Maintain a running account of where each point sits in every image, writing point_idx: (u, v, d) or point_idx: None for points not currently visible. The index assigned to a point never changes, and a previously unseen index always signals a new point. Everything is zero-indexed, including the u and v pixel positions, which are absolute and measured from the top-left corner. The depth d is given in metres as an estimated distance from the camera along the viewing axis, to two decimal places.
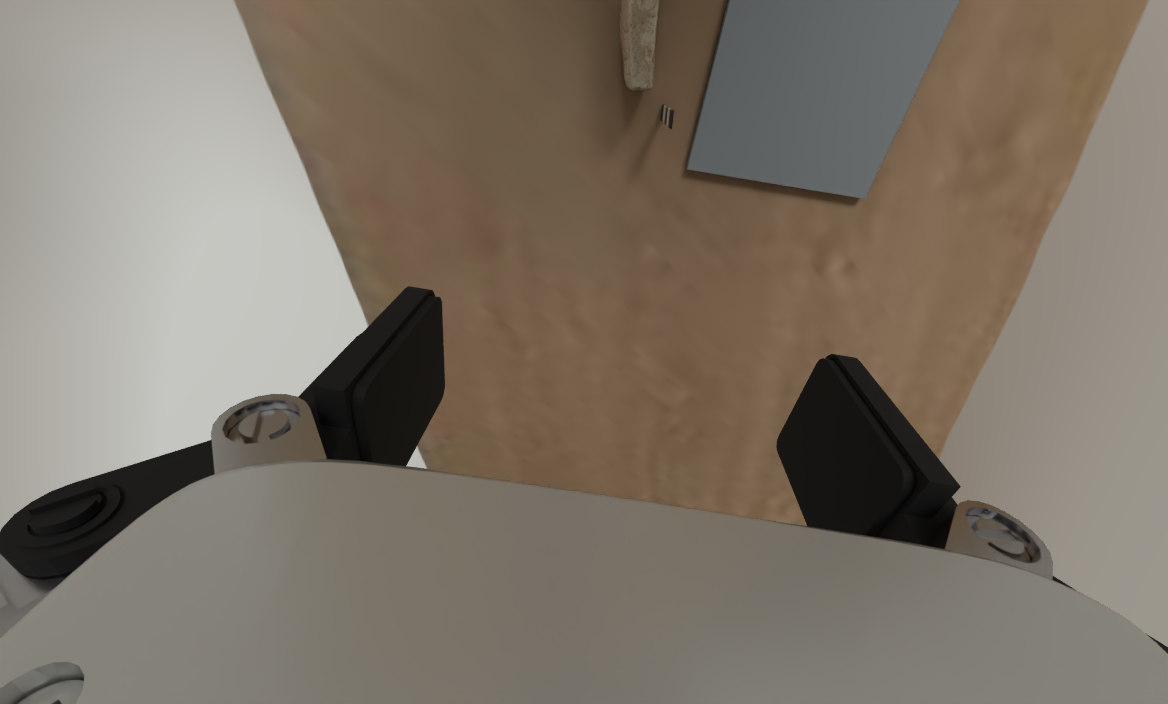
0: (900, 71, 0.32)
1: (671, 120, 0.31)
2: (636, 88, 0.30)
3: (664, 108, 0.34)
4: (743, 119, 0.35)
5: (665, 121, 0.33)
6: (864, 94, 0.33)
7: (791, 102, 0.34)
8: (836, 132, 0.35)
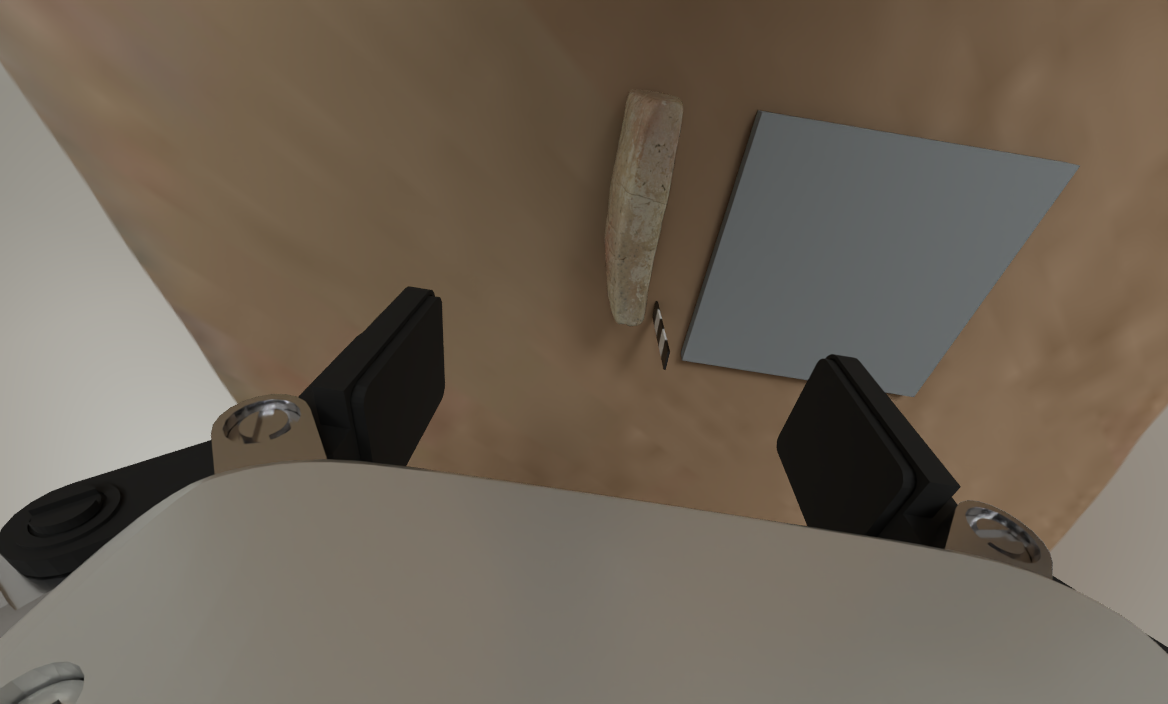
0: (974, 264, 0.24)
1: (665, 360, 0.23)
2: (621, 323, 0.22)
3: (658, 315, 0.26)
4: (757, 310, 0.26)
5: (658, 337, 0.25)
6: (921, 288, 0.24)
7: (822, 294, 0.25)
8: (881, 327, 0.26)
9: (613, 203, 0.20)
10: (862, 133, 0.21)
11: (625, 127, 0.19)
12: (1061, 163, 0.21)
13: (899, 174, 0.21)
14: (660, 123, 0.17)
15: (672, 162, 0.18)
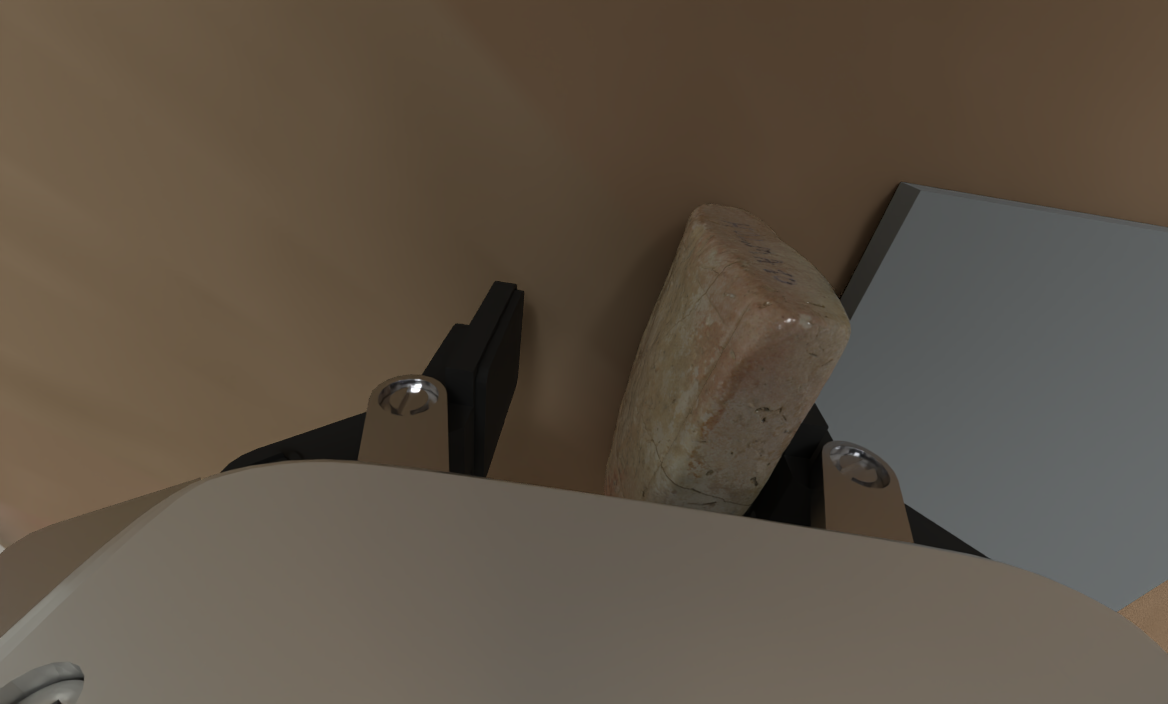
0: None
1: None
2: None
3: None
4: None
5: None
6: (1165, 490, 0.13)
7: (976, 492, 0.14)
8: (1070, 540, 0.15)
9: (630, 448, 0.09)
10: (1132, 235, 0.10)
11: (678, 305, 0.08)
12: None
13: None
14: (782, 366, 0.06)
15: (789, 439, 0.07)
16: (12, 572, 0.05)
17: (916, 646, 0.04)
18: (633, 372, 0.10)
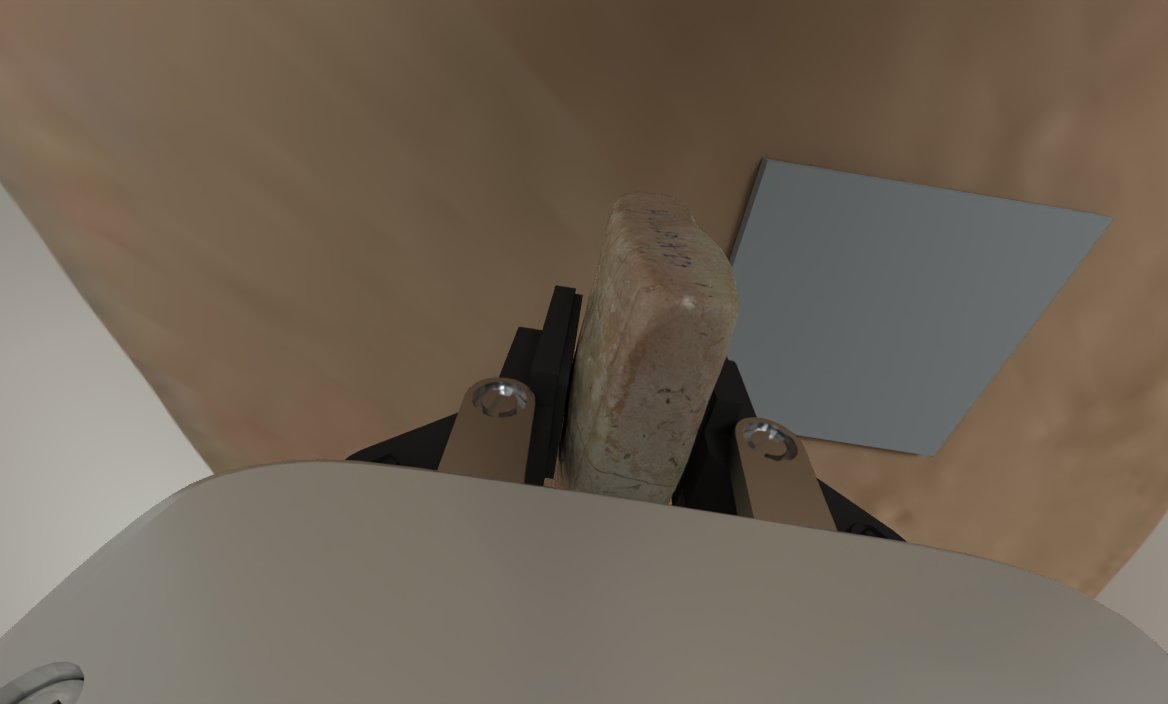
0: (998, 320, 0.22)
1: None
2: None
3: None
4: (763, 366, 0.24)
5: None
6: (942, 344, 0.23)
7: (833, 349, 0.23)
8: (897, 384, 0.24)
9: (566, 438, 0.09)
10: (876, 183, 0.19)
11: (597, 295, 0.08)
12: (1093, 215, 0.19)
13: (917, 226, 0.20)
14: (673, 347, 0.06)
15: (699, 418, 0.07)
16: None
17: (916, 646, 0.04)
18: None
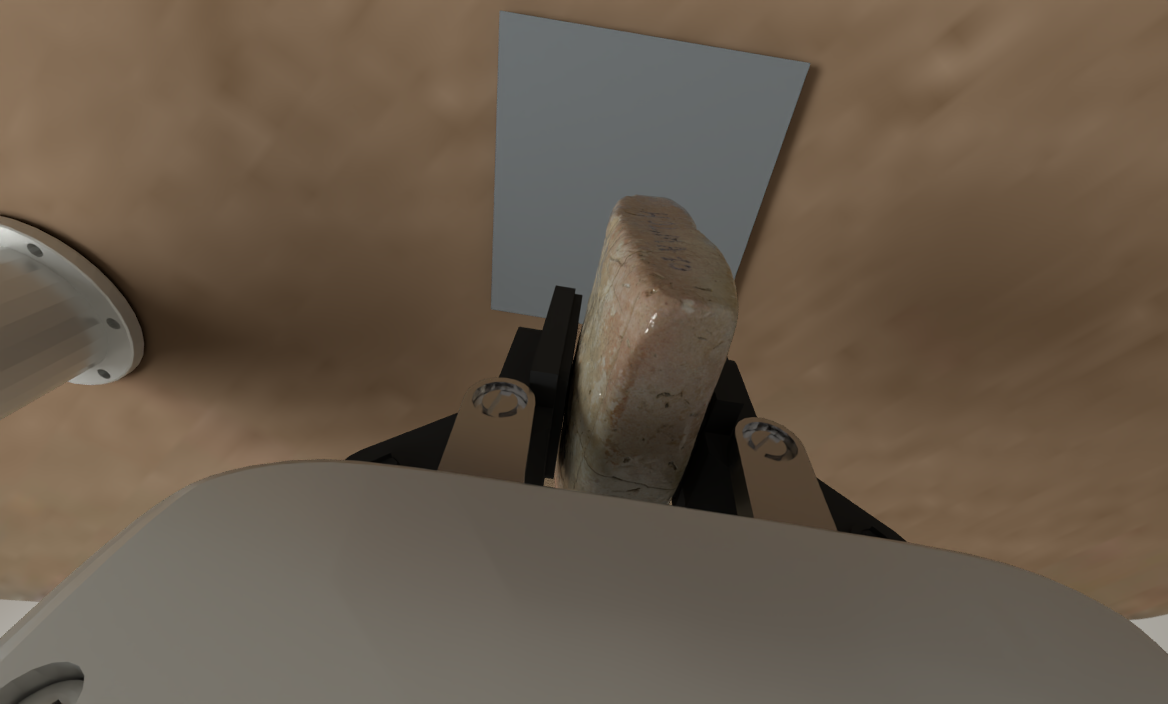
0: (609, 74, 0.21)
1: None
2: None
3: None
4: None
5: None
6: (637, 124, 0.22)
7: None
8: (687, 153, 0.22)
9: (565, 441, 0.09)
10: (496, 235, 0.25)
11: (596, 298, 0.08)
12: (500, 33, 0.20)
13: (523, 194, 0.24)
14: (673, 351, 0.06)
15: (699, 422, 0.07)
16: None
17: (915, 645, 0.04)
18: None
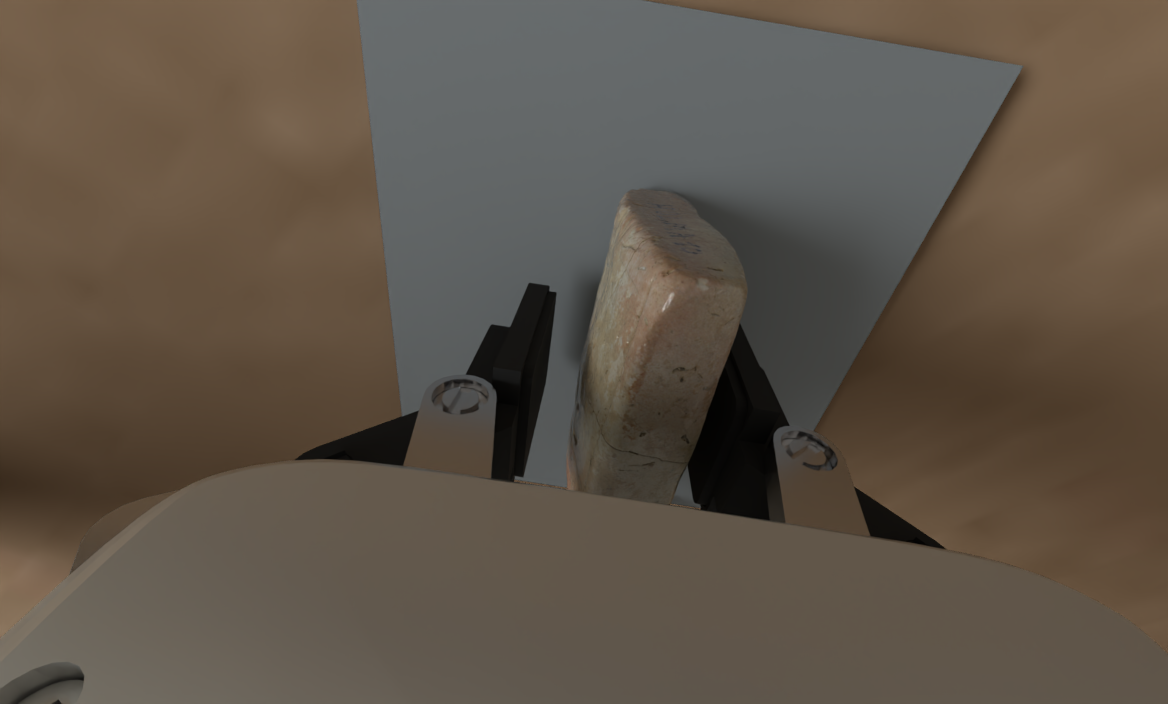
0: (592, 88, 0.10)
1: None
2: None
3: None
4: None
5: None
6: (649, 186, 0.11)
7: None
8: (745, 237, 0.12)
9: (579, 423, 0.10)
10: (401, 363, 0.15)
11: (608, 284, 0.09)
12: (359, 1, 0.10)
13: (441, 301, 0.13)
14: (688, 327, 0.07)
15: (710, 396, 0.08)
16: (105, 540, 0.06)
17: (916, 646, 0.04)
18: None
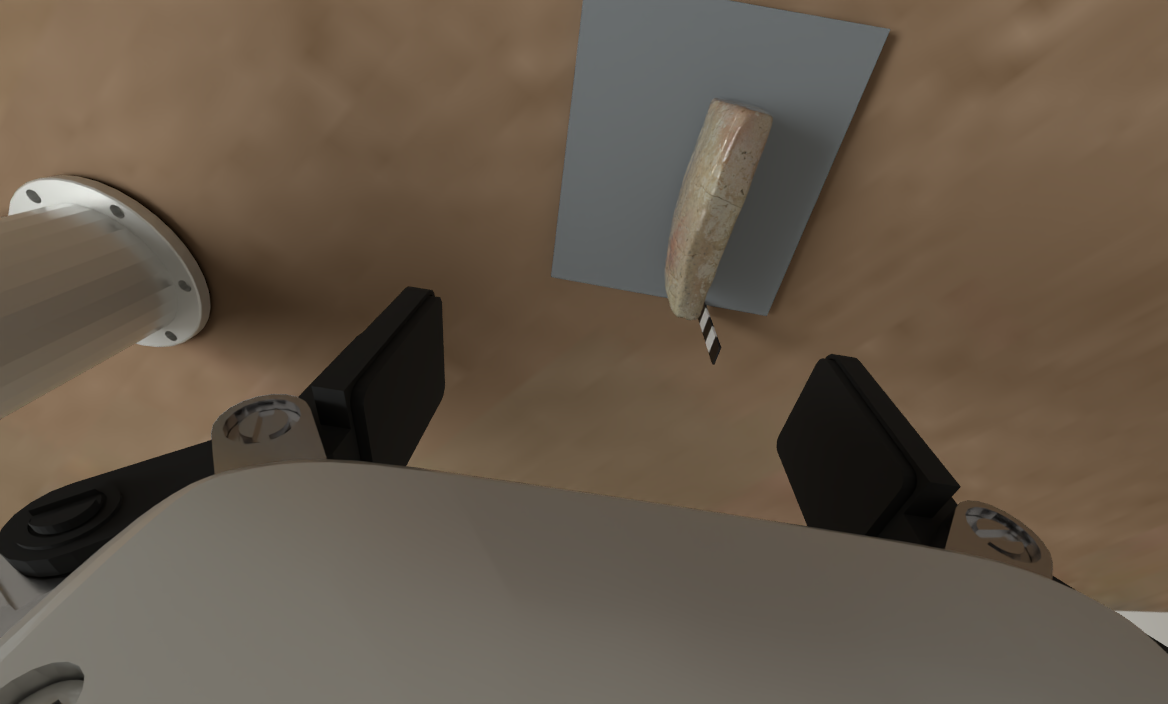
0: (688, 40, 0.21)
1: (715, 355, 0.24)
2: (680, 316, 0.23)
3: (705, 313, 0.27)
4: None
5: (704, 334, 0.27)
6: (712, 91, 0.22)
7: None
8: None
9: (688, 202, 0.21)
10: (562, 202, 0.26)
11: (709, 132, 0.20)
12: None
13: (593, 160, 0.25)
14: (750, 132, 0.18)
15: (754, 169, 0.19)
16: None
17: (916, 646, 0.04)
18: (685, 180, 0.22)
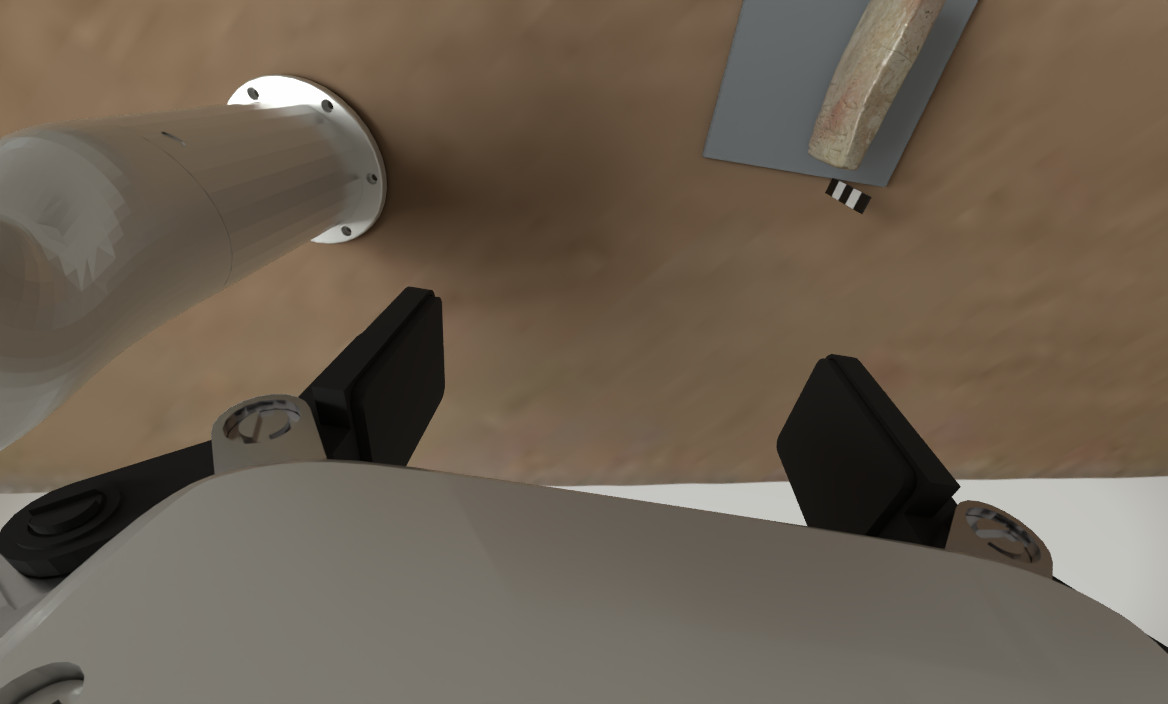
0: None
1: (864, 205, 0.29)
2: (843, 167, 0.28)
3: (840, 184, 0.32)
4: None
5: (842, 199, 0.32)
6: None
7: None
8: None
9: (863, 65, 0.26)
10: (725, 84, 0.31)
11: (886, 5, 0.25)
12: None
13: (759, 43, 0.30)
14: None
15: (930, 28, 0.24)
16: None
17: (916, 646, 0.04)
18: (851, 53, 0.28)
